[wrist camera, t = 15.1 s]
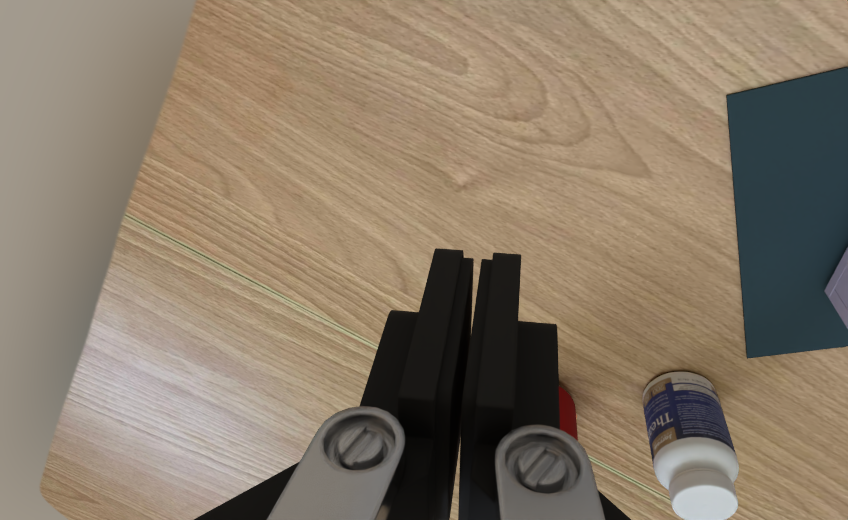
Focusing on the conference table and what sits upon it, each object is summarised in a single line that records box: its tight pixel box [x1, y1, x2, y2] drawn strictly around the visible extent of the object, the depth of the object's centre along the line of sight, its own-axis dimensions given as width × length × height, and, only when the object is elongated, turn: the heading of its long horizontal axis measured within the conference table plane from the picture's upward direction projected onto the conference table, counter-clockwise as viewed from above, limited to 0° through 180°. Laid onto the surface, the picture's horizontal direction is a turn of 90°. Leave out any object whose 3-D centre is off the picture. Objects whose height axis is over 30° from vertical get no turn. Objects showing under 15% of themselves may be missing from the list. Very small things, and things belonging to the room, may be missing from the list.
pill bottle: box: [643, 372, 739, 520], centre depth 45 cm, size 5×5×10 cm
